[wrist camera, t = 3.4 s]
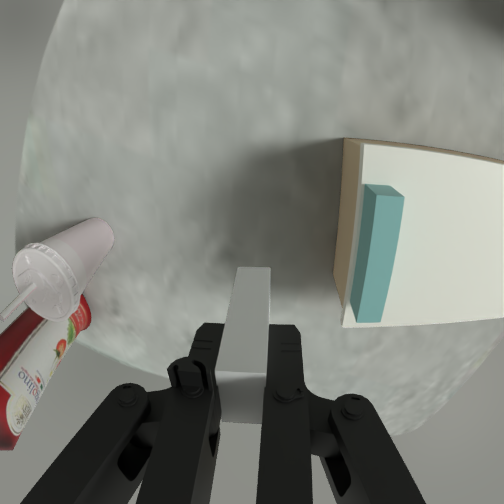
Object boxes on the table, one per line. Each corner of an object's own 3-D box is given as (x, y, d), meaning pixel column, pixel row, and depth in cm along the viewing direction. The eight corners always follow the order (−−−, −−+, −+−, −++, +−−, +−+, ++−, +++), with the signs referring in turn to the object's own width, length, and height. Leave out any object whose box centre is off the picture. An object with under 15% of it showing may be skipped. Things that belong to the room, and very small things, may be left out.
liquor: (102, 331, 34) (-9, 538, 8) (54, 317, 34) (-64, 491, 9) (93, 278, 30) (-64, 504, 5) (42, 267, 30) (-113, 447, 5)
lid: (360, 142, 17) (376, 150, 14) (558, 178, 16) (582, 190, 13) (340, 321, 22) (347, 350, 20) (520, 309, 21) (537, 329, 18)
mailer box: (343, 137, 23) (363, 147, 17) (513, 163, 22) (552, 179, 16) (332, 274, 28) (344, 314, 23) (489, 274, 27) (517, 304, 21)
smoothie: (74, 195, 27) (-31, 263, 14) (131, 215, 27) (38, 303, 14) (70, 252, 29) (-15, 334, 17) (122, 273, 30) (48, 373, 17)
